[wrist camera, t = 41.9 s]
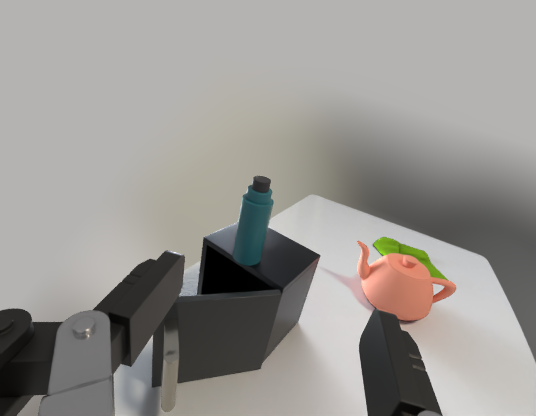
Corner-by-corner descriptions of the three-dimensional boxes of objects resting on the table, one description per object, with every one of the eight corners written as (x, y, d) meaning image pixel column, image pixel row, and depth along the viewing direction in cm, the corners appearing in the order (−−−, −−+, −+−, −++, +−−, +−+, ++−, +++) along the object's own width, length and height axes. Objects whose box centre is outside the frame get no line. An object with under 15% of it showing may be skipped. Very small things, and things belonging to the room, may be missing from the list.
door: (271, 407, 40) (298, 330, 33) (149, 435, 34) (151, 348, 28) (258, 363, 46) (279, 289, 39) (152, 380, 40) (154, 297, 33)
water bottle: (236, 266, 41) (251, 184, 36) (229, 248, 45) (242, 172, 39) (264, 264, 43) (282, 186, 37) (255, 247, 47) (271, 174, 41)
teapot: (336, 299, 63) (354, 254, 58) (345, 265, 76) (360, 226, 71) (441, 344, 57) (472, 299, 52) (432, 298, 70) (455, 258, 65)
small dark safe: (262, 363, 46) (283, 288, 39) (195, 308, 53) (203, 237, 46) (298, 321, 55) (320, 255, 48) (237, 279, 63) (249, 216, 56)
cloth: (376, 233, 97) (379, 227, 96) (445, 260, 90) (449, 253, 89) (367, 261, 80) (370, 254, 79) (451, 296, 73) (456, 289, 72)
